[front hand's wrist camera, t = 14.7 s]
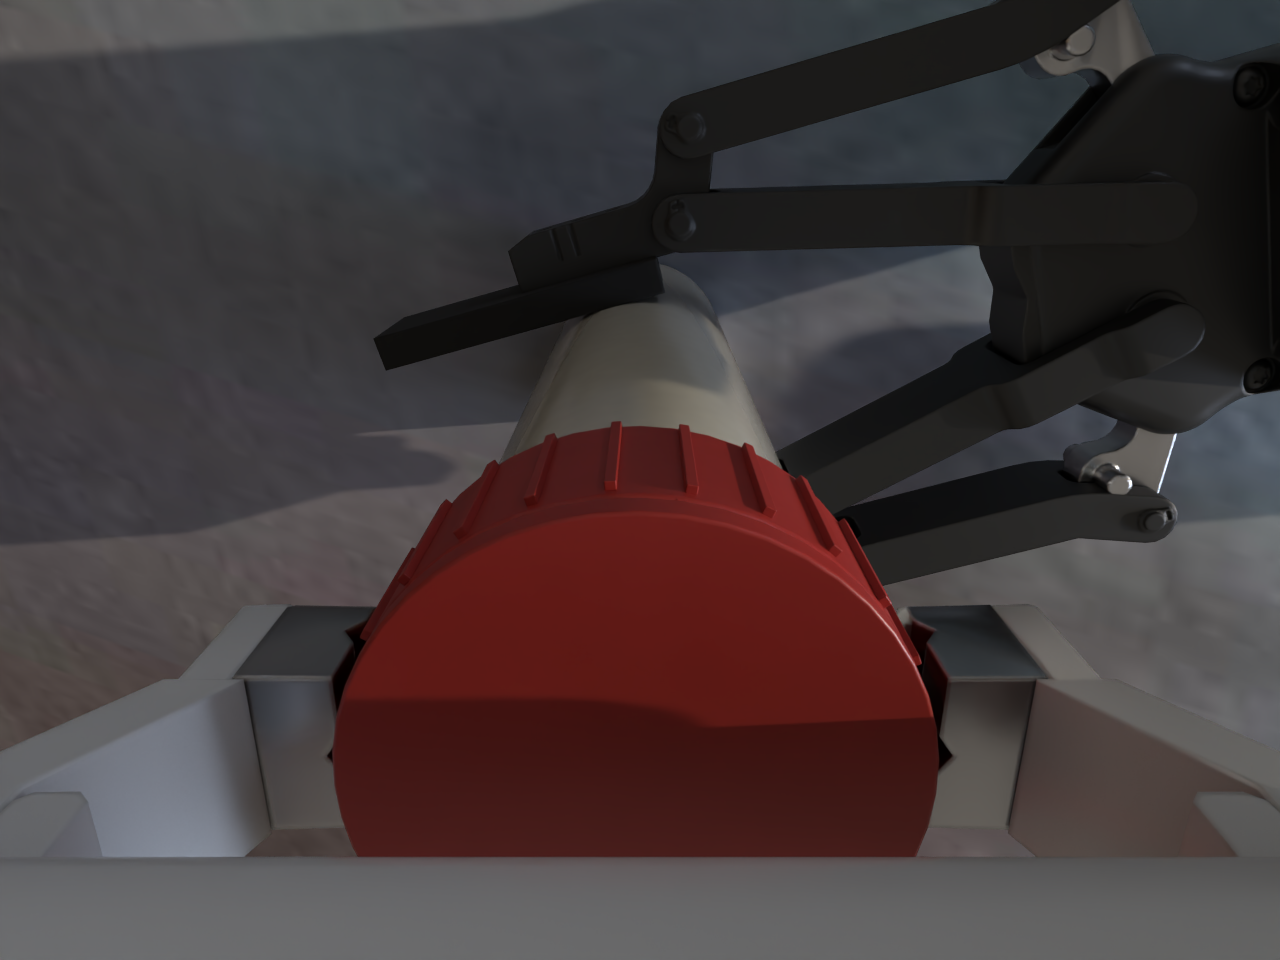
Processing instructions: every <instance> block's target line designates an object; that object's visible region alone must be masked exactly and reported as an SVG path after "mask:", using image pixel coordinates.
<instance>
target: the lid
mask: <svg viewBox="0 0 1280 960" xmlns="http://www.w3.org/2000/svg"><path fill="white" fill-rule="evenodd" d="M891 604H892V603H891V601H890V599H889V597H888V595H887V594H886V592H885V590H884V588H883V586H882V584H881V583H880V581H879V579H878V577H877V575H876V573H875V572H874V570H873V568H872V566H871V564H870V563H869V561H868V559H867V557H866V555H865V553H864V552H863V550H862V548H861V546H860V544H859V542H858V541H857V539H856V537H855V535H854V533H853V531H852V530H851V528H850V526H849V524H848V523H847V521H846V520H845V519H842V520H840V521H839V522H838V521H837V520H836V519H835V518H834V516H833V515H832V514H831V513H830V512H829V511H828V509H827V508H826V507H825V506H824V505H823V503H822V502H821V501H820V500H819V499H818V498H817V497H816V496H815V494H814V492H813V490H812V488H811V486H810V484H809V482H808V480H807V479H806V478H804V477H803V476H802V475H800V476H799V477H798V478H797V479H796V478H794V477H793V476H791V475H790V474H788V473H787V472H785V471H784V470H782V469H781V468H779V467H778V466H776V465H775V464H773V463H772V462H770V461H769V460H767V459H765V458H763V457H761V456H759V455H756V453H755V450H754V447H753V446H752V445H750V444H748V443H745V442H744V444H743V446H742V447H740V446H738V445H735V444H732V443H729V442H726V441H723V440H720V439H717V438H714V437H711V436H708V435H704V434H699V433H694V432H690V427H689V425H683V424H679V428H678V429H675V428H662V427H649V426H627V427H622V422H621V421H614V422H611V427H607V428H601V429H595V430H589V431H584V432H578V433H573V434H569V435H566V436H563V437H560V438H557V437H556V435H555V433H552V434H549V435H546V436H545V439H544V442H543V443H541V444H538V445H536V446H534V447H532V448H530V449H527V450H525V451H523V452H521V453H519V454H517V455H514V456H512V457H510V458H509V459H507V460H506V461H504V462H502V463H501V464H499V465H498V463H497V462H496V461H495V460H493V461H492V462H490V463H489V464H487V466H486V468H485V470H484V472H483V474H482V476H481V477H480V478H479V479H478V480H476V481H475V482H474V483H473V484H472V485H471V486H469V487H468V488H467V489H466V490H465V491H463V492H462V493H461V494H460V495H459V496H458V497H457V498H456V499H455V501H454V502H453V503H451V502H449V501H448V500H447V499H446V500H445V501H444V502H443V503H442V504H441V505H440V507H439V509H438V511H437V512H436V514H435V516H434V517H433V519H432V521H431V523H430V524H429V526H428V528H427V529H426V531H425V533H424V535H423V536H422V538H421V540H420V541H419V543H418V545H417V547H416V548H411V550H410V552H409V553H408V555H407V557H406V558H405V560H404V562H403V563H402V565H401V567H400V568H399V570H398V572H397V574H396V575H395V577H394V579H393V580H392V582H391V584H390V585H389V587H388V589H387V590H386V592H385V594H384V595H383V597H382V599H381V601H380V602H379V604H378V606H377V607H376V609H375V611H374V612H373V614H372V616H371V617H370V619H369V621H368V622H367V624H366V626H365V628H364V629H363V631H362V633H361V635H360V638H361V639H363V640H365V641H366V643H365V645H364V647H363V648H362V650H361V652H360V654H359V656H358V658H357V660H356V662H355V664H354V667H353V669H352V671H351V673H350V675H349V678H348V680H347V682H346V684H345V687H344V690H343V694H342V698H341V701H340V705H339V708H338V712H337V716H336V721H335V731H334V740H333V749H332V755H333V772H334V786H335V791H336V796H337V800H338V805H339V809H340V814H341V818H342V821H343V823H344V826H345V829H346V831H347V834H348V836H349V839H350V842H351V844H352V847H353V849H354V851H355V852H356V854H357V856H358V857H916V855H917V852H918V850H919V848H920V845H921V843H922V840H923V838H924V835H925V833H926V831H927V828H928V826H929V822H930V817H931V813H932V809H933V805H934V801H935V797H936V792H937V780H938V768H939V752H938V740H937V727H936V723H935V719H934V715H933V711H932V707H931V703H930V699H929V694H928V692H927V690H926V687H925V685H924V683H923V680H922V678H921V676H920V673H919V671H918V668H917V665H920V664H922V662H921V659H920V657H919V654H918V652H917V651H916V649H915V647H914V645H913V643H912V641H911V640H910V638H909V636H908V634H907V632H906V630H905V629H904V627H903V625H902V623H901V621H900V619H899V617H898V616H897V614H896V612H895V610H894V608H893V606H892V605H891Z"/></svg>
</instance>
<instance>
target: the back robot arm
mask: <svg viewBox="0 0 1280 960" xmlns="http://www.w3.org/2000/svg"><path fill="white" fill-rule="evenodd" d="M1018 63H1019V64H1020V66H1021V68H1022V69H1023V71H1024V72H1025V73H1026V74H1027V75H1029V76H1030V77H1032V78H1036V79H1048V78H1054V77H1059V76H1065V75H1068V74H1070V73H1075V74H1079V75H1080V76H1082V77H1083V78H1085V79H1086V81H1087V82H1088V83H1089V85H1090V87H1089V88H1088V89H1087V90H1086V91H1085V92H1084V93H1083V95H1082V96H1081V97H1080V98H1079V99H1078V100H1077V101H1076V102H1075V104H1074V105H1073V106H1072V107H1071V108H1070V109H1069V110H1068V111H1067V113H1066V114H1065V115H1064V116H1063V117H1062V118H1061V119H1060V120H1059V121H1058V123H1057V124H1056V125H1055V126H1054V127H1053V128H1052V129H1051V130H1050V132H1049V133H1048V134H1047V135H1046V136H1045V137H1044V138H1043V139H1042V141H1041V142H1040V143H1039V144H1038V145H1037V146H1036V147H1035V148H1034V149H1033V151H1032V152H1031V153H1030V154H1029V155H1028V156H1027V157H1026V158H1025V159H1024V161H1023V162H1022V163H1021V164H1020V165H1019V166H1018V167H1017V168H1016V170H1015V171H1014V172H1013V173H1012V174H1011V175H1010V176H1009V177H1008V178H1007V180H979V181H946V182H934V183H902V184H867V185H832V186H797V187H762V188H727V189H710V180H711V171H712V161H713V153H714V152H717V151H720V150H724V149H727V148H731V147H734V146H738V145H741V144H745V143H748V142H752V141H755V140H758V139H762V138H765V137H769V136H772V135H776V134H779V133H783V132H786V131H790V130H793V129H796V128H800V127H803V126H807V125H810V124H814V123H817V122H821V121H824V120H828V119H831V118H834V117H838V116H841V115H845V114H848V113H852V112H855V111H859V110H862V109H866V108H869V107H872V106H876V105H879V104H883V103H886V102H890V101H893V100H897V99H900V98H904V97H907V96H910V95H914V94H917V93H921V92H924V91H928V90H931V89H935V88H938V87H942V86H945V85H949V84H952V83H955V82H959V81H962V80H966V79H969V78H973V77H976V76H980V75H983V74H987V73H990V72H993V71H997V70H1000V69H1003V68H1006V67H1009V66H1012V65H1015V64H1018ZM937 245H975V246H979V250H980V257H981V260H982V262H983V265H984V267H985V269H986V272H987V274H988V276H989V278H990V281H991V283H992V285H993V296H992V304H991V311H990V319H989V323H990V331H991V333H990V334H988V335H986V336H984V337H982V338H980V339H978V340H976V341H975V342H973V343H971V344H969V345H967V346H965V347H963V348H962V349H960V350H958V351H957V352H956V353H955V354H954V355H953V357H952V359H951V360H950V361H949V362H948V363H946V364H945V365H943V366H941V367H939V368H937V369H935V370H933V371H932V372H930V373H928V374H926V375H924V376H922V377H920V378H918V379H916V380H914V381H912V382H910V383H908V384H906V385H904V386H903V387H901V388H899V389H897V390H895V391H893V392H891V393H889V394H887V395H885V396H883V397H881V398H879V399H877V400H876V401H874V402H872V403H870V404H868V405H866V406H864V407H862V408H860V409H858V410H856V411H854V412H852V413H850V414H849V415H847V416H845V417H843V418H841V419H839V420H837V421H835V422H833V423H831V424H829V425H827V426H825V427H823V428H822V429H820V430H818V431H816V432H814V433H812V434H810V435H808V436H806V437H804V438H802V439H800V440H798V441H796V442H795V443H793V444H791V445H789V446H787V447H785V448H783V449H781V450H779V451H777V452H775V453H776V455H777V457H778V460H779V462H780V464H781V467H782V469H783V470H784V471H785V472H787V473H788V474H790V475H791V476H793V477H794V478H796V479H797V478H798V477H799V476H800V475H802V476H803V477H804V478H806V479H807V480H808V482H809V484H810V486H811V488H812V490H813V492H814V494H815V496H816V497H817V498H818V499H819V500H820V501H821V502H822V503H823V505H824V506H825V507H826V508H827V509H828V511H829V512H830V513H831V514H832V515H833V516H834V518H835V519H836V520H837V521H838V522H839V521H840V520H842V519H845V520H846V521H847V523H848V524H849V526H850V528H851V530H852V531H853V533H854V535H855V537H856V539H857V541H858V542H859V544H860V546H861V548H862V550H863V552H864V553H865V555H866V557H867V559H868V561H869V563H870V564H871V566H872V568H873V570H874V572H875V573H876V575H877V577H878V579H879V581H880V583H881V584H882V586H884V585H888V584H892V583H896V582H900V581H904V580H908V579H912V578H916V577H921V576H925V575H929V574H933V573H937V572H941V571H945V570H949V569H953V568H957V567H962V566H966V565H970V564H974V563H978V562H982V561H986V560H990V559H994V558H998V557H1003V556H1007V555H1011V554H1015V553H1019V552H1023V551H1027V550H1031V549H1035V548H1039V547H1044V546H1048V545H1052V544H1056V543H1060V542H1064V541H1068V540H1072V539H1076V538H1085V539H1099V540H1113V541H1128V542H1142V543H1148V542H1156V541H1158V540H1160V539H1162V538H1164V537H1166V536H1167V535H1168V534H1169V533H1170V532H1171V531H1172V530H1173V528H1174V526H1175V524H1176V522H1177V515H1178V513H1177V510H1176V507H1175V505H1174V504H1173V503H1172V502H1170V501H1169V500H1168V499H1167V498H1165V497H1164V496H1162V495H1160V494H1159V490H1160V487H1161V484H1162V480H1163V477H1164V474H1165V471H1166V467H1167V464H1168V461H1169V458H1170V454H1171V451H1172V448H1173V444H1174V441H1175V438H1176V435H1177V433H1182V432H1186V431H1189V430H1191V429H1193V428H1196V427H1197V426H1199V425H1201V424H1202V423H1204V422H1205V421H1207V420H1208V419H1209V418H1210V417H1212V416H1213V415H1214V414H1215V413H1217V412H1218V411H1219V410H1221V409H1222V408H1224V407H1225V406H1227V405H1229V404H1231V403H1232V402H1234V401H1236V400H1238V399H1240V398H1243V397H1246V396H1249V395H1254V394H1259V393H1265V392H1272V391H1278V390H1280V43H1277V44H1274V45H1270V46H1267V47H1263V48H1260V49H1256V50H1253V51H1249V52H1246V53H1242V54H1239V55H1235V56H1232V57H1228V58H1225V59H1221V60H1218V61H1214V62H1207V61H1200V60H1195V59H1192V58H1189V57H1186V56H1183V55H1178V54H1160V55H1155V54H1154V51H1153V49H1152V47H1151V45H1150V42H1149V40H1148V38H1147V36H1146V34H1145V31H1144V29H1143V27H1142V25H1141V22H1140V20H1139V18H1138V16H1137V14H1136V11H1135V9H1134V7H1133V5H1132V3H1131V0H996V1H994V2H993V3H992V4H990V5H989V6H987V7H983V8H980V9H977V10H973V11H970V12H967V13H963V14H960V15H956V16H953V17H950V18H946V19H943V20H940V21H936V22H933V23H929V24H926V25H923V26H919V27H916V28H913V29H909V30H906V31H902V32H899V33H896V34H892V35H889V36H886V37H882V38H879V39H875V40H872V41H869V42H865V43H862V44H859V45H855V46H852V47H848V48H845V49H842V50H838V51H835V52H832V53H828V54H825V55H822V56H818V57H815V58H811V59H808V60H805V61H801V62H798V63H795V64H791V65H788V66H784V67H781V68H778V69H774V70H771V71H768V72H764V73H761V74H757V75H754V76H751V77H747V78H744V79H741V80H737V81H734V82H730V83H727V84H724V85H720V86H717V87H714V88H710V89H707V90H703V91H700V92H697V93H693V94H690V95H687V96H683V97H681V98H679V99H677V100H675V101H673V102H671V103H670V105H669V106H668V107H667V108H666V109H665V110H664V112H663V114H662V116H661V118H660V120H659V124H658V131H657V144H656V156H655V169H654V175H653V180H652V182H651V184H650V187H649V188H648V190H647V191H646V192H645V194H644V195H643V196H641V197H640V198H639V199H637V200H636V201H633V202H631V203H629V204H625V205H622V206H618V207H615V208H611V209H608V210H604V211H601V212H598V213H594V214H591V215H587V216H584V217H580V218H577V219H574V220H570V221H567V222H563V223H560V224H556V225H553V226H549V227H546V228H542V229H539V230H535V231H533V232H532V233H530V234H529V235H528V236H526V237H525V238H524V239H523V240H521V241H520V242H519V243H518V244H517V245H515V246H514V247H513V248H512V249H510V250H509V251H508V252H509V256H510V259H511V262H512V265H513V268H514V271H515V274H516V277H517V281H518V284H519V285H516V286H513V287H509V288H506V289H502V290H499V291H495V292H492V293H488V294H485V295H481V296H478V297H474V298H471V299H467V300H464V301H460V302H457V303H453V304H450V305H446V306H443V307H439V308H436V309H432V310H428V311H425V312H421V313H418V314H414V315H411V316H407V317H404V318H403V319H401V320H400V321H398V322H397V323H395V324H394V325H393V326H391V327H390V328H388V329H387V330H385V331H384V332H382V333H381V334H380V335H378V336H377V337H375V338H374V341H375V344H376V346H377V349H378V352H379V354H380V357H381V359H382V362H383V365H384V367H385V370H390V369H393V368H397V367H401V366H404V365H408V364H411V363H415V362H418V361H422V360H426V359H429V358H433V357H436V356H440V355H444V354H447V353H451V352H454V351H458V350H461V349H465V348H469V347H472V346H476V345H479V344H483V343H487V342H490V341H494V340H497V339H501V338H505V337H508V336H512V335H515V334H519V333H522V332H526V331H530V330H533V329H537V328H540V327H544V326H548V325H551V324H555V323H558V322H562V321H565V320H569V319H573V318H576V317H580V316H583V315H587V314H591V313H594V312H598V311H601V310H605V309H609V308H612V307H615V306H619V305H623V304H626V303H630V302H634V301H637V300H641V299H644V298H648V297H652V296H655V295H659V294H662V293H665V289H664V284H663V278H662V274H661V270H660V266H659V262H658V259H657V257H659V256H663V255H667V254H670V253H674V252H679V253H686V252H722V251H757V250H793V249H829V248H865V247H901V246H937ZM1076 404H1078V405H1081V406H1083V407H1086V408H1089V409H1091V410H1094V411H1096V412H1099V413H1102V414H1104V415H1107V416H1109V417H1112V418H1115V419H1117V420H1118V421H1117V423H1116V426H1115V427H1114V428H1113V430H1112V431H1111V432H1110V433H1109V434H1107V435H1106V436H1105V437H1103V438H1100V439H1098V440H1094V441H1088V442H1083V443H1081V444H1073V445H1070V446H1069V447H1068V448H1067V449H1065V452H1064V454H1063V459H1064V461H1056V460H1046V461H1035V462H1028V463H1022V464H1017V465H1012V466H1008V467H1005V468H1001V469H997V470H993V471H989V472H985V473H981V474H977V475H973V476H969V477H965V478H961V479H957V480H953V481H949V482H945V483H941V484H937V485H934V486H930V487H926V488H922V489H918V490H914V491H910V492H906V493H902V494H898V495H894V496H890V497H886V498H882V499H878V500H874V501H870V502H866V503H863V504H859V505H855V506H851V505H853V504H855V503H857V502H859V501H861V500H863V499H865V498H867V497H869V496H871V495H873V494H875V493H877V492H879V491H881V490H883V489H885V488H887V487H889V486H891V485H893V484H895V483H897V482H899V481H901V480H903V479H905V478H907V477H909V476H911V475H913V474H915V473H917V472H919V471H921V470H923V469H925V468H927V467H929V466H931V465H933V464H935V463H937V462H939V461H941V460H943V459H946V458H948V457H950V456H952V455H954V454H956V453H958V452H960V451H962V450H964V449H966V448H968V447H970V446H972V445H974V444H976V443H978V442H980V441H982V440H984V439H986V438H988V437H990V436H992V435H994V434H996V433H998V432H1000V431H1003V430H1007V429H1022V428H1027V427H1030V426H1033V425H1035V424H1038V423H1040V422H1042V421H1044V420H1046V419H1048V418H1050V417H1052V416H1054V415H1056V414H1058V413H1060V412H1062V411H1064V410H1066V409H1068V408H1070V407H1072V406H1074V405H1076ZM849 506H851V507H849Z"/></svg>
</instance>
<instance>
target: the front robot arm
mask: <svg viewBox="0 0 1280 960" xmlns="http://www.w3.org/2000/svg"><path fill="white" fill-rule="evenodd" d="M375 609H376V607H365V606H310V605H295V606H292V605H291V604H279V605H251V606H243V607H242V608H241V610H240V611H239V612H238V613H237V614H236V615H235V616H234V617H233V618H232V620H231V621H230V622H229V623H228V624H227V625H226V626H225V627H224V629H223V630H222V631H221V632H220V633H219V634H218V635H217V636H216V637H215V639H214V640H213V641H212V642H211V643H210V644H209V645H208V646H207V648H206V649H205V650H204V651H203V652H202V653H201V654H200V655H199V656H198V658H197V659H196V660H195V661H194V662H193V663H192V664H191V665H190V667H189V668H188V669H187V670H186V671H185V672H184V673H183V674H182V676H181V677H180V678H179V679H163V680H161V681H159V682H156V683H154V684H152V685H150V686H147V687H145V688H143V689H141V690H138V691H136V692H134V693H132V694H129V695H127V696H125V697H122V698H120V699H118V700H116V701H113V702H111V703H109V704H107V705H104V706H102V707H100V708H98V709H95V710H93V711H91V712H89V713H86V714H84V715H82V716H79V717H77V718H75V719H73V720H70V721H68V722H66V723H64V724H61V725H59V726H57V727H55V728H52V729H50V730H48V731H46V732H43V733H41V734H39V735H36V736H34V737H32V738H30V739H27V740H25V741H23V742H21V743H18V744H16V745H14V746H12V747H9V748H7V749H5V750H2V751H0V960H1280V752H1279V751H1277V750H1275V749H1272V748H1270V747H1268V746H1266V745H1263V744H1261V743H1259V742H1257V741H1254V740H1252V739H1250V738H1248V737H1245V736H1243V735H1241V734H1239V733H1236V732H1234V731H1232V730H1229V729H1227V728H1225V727H1223V726H1220V725H1218V724H1216V723H1214V722H1211V721H1209V720H1207V719H1205V718H1202V717H1200V716H1198V715H1196V714H1193V713H1191V712H1189V711H1187V710H1184V709H1182V708H1180V707H1178V706H1175V705H1173V704H1171V703H1169V702H1166V701H1164V700H1162V699H1160V698H1157V697H1155V696H1153V695H1151V694H1148V693H1146V692H1144V691H1141V690H1139V689H1137V688H1135V687H1132V686H1130V685H1128V684H1126V683H1123V682H1121V681H1119V680H1117V679H1101V678H1100V677H1099V676H1098V675H1097V673H1096V672H1095V671H1094V670H1093V669H1092V668H1091V667H1090V666H1089V664H1088V663H1087V662H1086V661H1085V660H1084V659H1083V658H1082V657H1081V656H1080V654H1079V653H1078V652H1077V651H1076V650H1075V649H1074V648H1073V647H1072V645H1071V644H1070V643H1069V642H1068V641H1067V640H1066V639H1065V638H1064V637H1063V635H1062V634H1061V633H1060V632H1059V631H1058V630H1057V629H1056V628H1055V626H1054V625H1053V624H1052V623H1051V622H1050V621H1049V620H1048V619H1047V617H1046V616H1045V615H1044V614H1043V613H1042V612H1041V611H1040V610H1039V609H1038V607H1035V606H1032V605H1029V604H1018V605H996V606H991V605H965V606H923V607H903V608H899V609H897V612H896V614H897V616H898V617H899V619H900V621H901V623H902V625H903V627H904V629H905V630H906V632H907V634H908V636H909V638H910V640H911V641H912V643H913V645H914V647H915V649H916V651H917V652H918V654H919V657H920V659H921V662H922V664H920V665H917V668H918V671H919V673H920V676H921V678H922V680H923V683H924V685H925V687H926V690H927V692H928V694H929V699H930V703H931V707H932V711H933V715H934V719H935V723H936V727H937V740H938V752H939V768H938V780H937V792H936V797H935V801H934V805H933V809H932V813H931V817H930V822H929V826H928V827H931V828H968V829H1005V830H1008V834H1010V835H1011V836H1012V837H1013V838H1015V839H1016V840H1017V841H1018V842H1019V843H1021V844H1022V845H1023V846H1024V847H1025V848H1027V849H1028V850H1029V851H1030V852H1032V853H1033V854H1034V855H1035V856H1036V857H244V856H245V855H246V854H248V853H249V852H250V851H251V850H252V849H254V848H255V847H256V846H257V845H258V844H260V843H261V842H262V841H263V840H265V839H266V838H267V837H268V836H269V835H271V833H272V832H271V830H275V829H311V828H345V826H344V823H343V821H342V818H341V814H340V809H339V805H338V800H337V796H336V791H335V786H334V772H333V755H332V749H333V740H334V731H335V721H336V716H337V712H338V708H339V705H340V701H341V698H342V694H343V690H344V687H345V684H346V682H347V680H348V678H349V675H350V673H351V671H352V669H353V667H354V664H355V662H356V660H357V658H358V656H359V654H360V652H361V650H362V648H363V647H364V645H365V643H366V641H365V640H363V639H361V638H360V635H361V633H362V631H363V629H364V628H365V626H366V624H367V622H368V621H369V619H370V617H371V616H372V614H373V612H374V611H375Z"/></svg>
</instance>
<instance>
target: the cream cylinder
mask: <svg viewBox="0 0 1280 960" xmlns="http://www.w3.org/2000/svg"><path fill="white" fill-rule="evenodd" d="M659 266H660V270H661V274H662V278H663V284H664V289H665V293H662V294H659V295H655V296H652V297H648V298H644V299H641V300H637V301H634V302H630V303H626V304H623V305H619V306H615V307H612V308H609V309H605V310H601V311H598V312H594V313H591V314H587V315H583V316H580V317H576V318H573V319H569V320H566V323H565V325H564V327H563V329H562V331H561V333H560V335H559V337H558V339H557V342H556V344H555V346H554V348H553V350H552V352H551V354H550V356H549V358H548V361H547V363H546V365H545V367H544V369H543V371H542V373H541V375H540V377H539V380H538V382H537V384H536V386H535V388H534V390H533V392H532V394H531V396H530V399H529V401H528V403H527V405H526V407H525V409H524V411H523V413H522V415H521V418H520V420H519V422H518V424H517V426H516V428H515V430H514V432H513V434H512V437H511V439H510V441H509V443H508V445H507V447H506V449H505V451H504V454H503V456H502V458H501V460H500V462H499V464H501V463H502V462H504V461H506V460H507V459H509V458H510V457H512V456H514V455H517V454H519V453H521V452H523V451H525V450H527V449H530V448H532V447H534V446H536V445H538V444H541V443H543V442H544V439H545V436H546V435H549V434H552V433H555V435H556V437H557V438H560V437H563V436H566V435H569V434H573V433H578V432H584V431H589V430H595V429H601V428H607V427H611V422H614V421H621V422H622V427H627V426H649V427H662V428H675V429H678V428H679V424H683V425H689V427H690V432H694V433H699V434H704V435H708V436H711V437H714V438H717V439H720V440H723V441H726V442H729V443H732V444H735V445H738V446H740V447H742V446H743V444H744V442H745V443H748V444H750V445H752V446H753V447H754V450H755V453H756V455H759V456H761V457H763V458H765V459H767V460H769V461H770V462H772V463H773V464H775V465H776V466H778V467H779V468H781V469H782V467H781V464H780V462H779V460H778V457H777V455H776V453H775V451H774V448H773V446H772V444H771V441H770V439H769V437H768V434H767V432H766V430H765V427H764V425H763V423H762V421H761V418H760V416H759V414H758V411H757V409H756V407H755V404H754V402H753V400H752V397H751V395H750V393H749V390H748V388H747V386H746V384H745V381H744V379H743V377H742V374H741V372H740V370H739V367H738V365H737V363H736V360H735V358H734V356H733V353H732V351H731V349H730V347H729V344H728V342H727V340H726V337H725V335H724V333H723V330H722V328H721V326H720V323H719V321H718V319H717V317H716V314H715V312H714V310H713V307H712V305H711V303H710V301H709V300H708V298H707V296H706V295H705V293H704V292H703V291H702V290H701V288H700V287H699V286H698V285H697V284H696V283H695V282H694V281H693V280H691V279H690V278H689V277H687V276H686V275H685V274H683V273H681V272H679V271H677V270H676V269H673V268H671V267H668V266H665V265H661V264H659ZM499 464H498V465H499ZM782 470H783V469H782Z"/></svg>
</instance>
